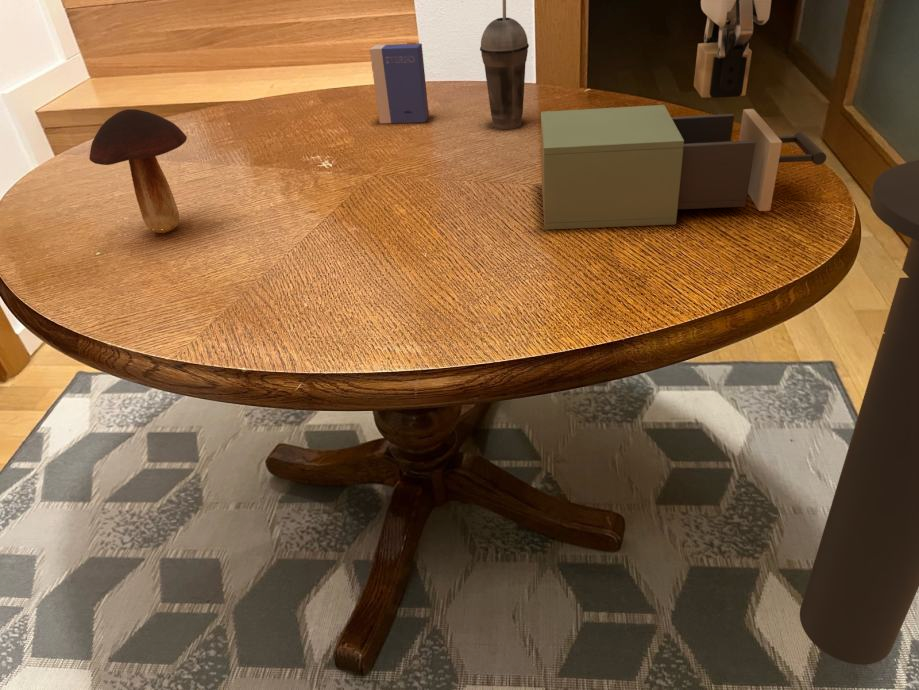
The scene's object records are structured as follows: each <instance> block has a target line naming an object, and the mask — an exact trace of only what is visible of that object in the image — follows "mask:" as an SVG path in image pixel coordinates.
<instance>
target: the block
mask: <svg viewBox="0 0 919 690" xmlns="http://www.w3.org/2000/svg"><path fill="white" fill-rule="evenodd" d="M752 53H753V51H752V49H750V48H749V49H748V55H747V62H746V68H745V75H744V82H743V89H742V94H741V95H740V96H739V97H741V96H746V93H747V89H748V88H747V86H748V80H749V73H750V68H751V61H752ZM714 57H718V42H716V43H704V42H700V43H697V51H696V60H695V68H694V78H693V79H694V80H693V87H694V89H695V90H696V92H697V93H698V94H699V96H700V98H703V99H704V98H712V97H711V96H710V85H711V77H712V68H713V60H714Z"/></svg>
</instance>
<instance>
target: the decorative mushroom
mask: <svg viewBox="0 0 919 690" xmlns="http://www.w3.org/2000/svg"><path fill="white" fill-rule="evenodd" d="M187 139H188V137H187V135H186V133H184V131H182V129H181V128H179V126H178V125H176V124H175V123H174V122H172V121H171V120H168V119H167V118H164V117H162V116H161V115H158V114H156V113H153V112H150V111H145V110H142V109H134V108H132V109H129V108H128V109H127V108H126V109H122V110H120V111H118V112H116V113H115V114H113V115H112V116H111V117H109V118H108V119H107V120H105V121H104V123H103V124H102V125H101V126H100V127H99V129H98V131H97V132H96V134H95V136H94V137H93V140H92V142H91V145H90V149H89V157H88V158H89V161H90V162H92V163H94V164H97V165H101V166H112V165H115V164H119V163H123V162H128V164H129V168H130V169H129V170H130V174H131V175H130V176H131V179H132V184H133V189H134V194H135V198H136V201H137V205H138V208H139V211H140V214H141V218H142V220H143V222H144V224H145V226H146V227H147V228H148V230H149V231H152V232H153V233H157V234H166V233H169V232H171V231H173V230H174V229H175V228H176V227H177V226H178V225H179V223H180V214H179V213H180V212H179V209H178V206H177V202H176V200H175V197H174V195H173V192H172V189H171V186H170V184H169V181H168V179H167V177H166V175H165V173H164V172H163V169H162V168H161V166H160V162H159V161H158V158H157V157H158V156H161V155H164V154H167V153H169V152H173V151H174V150H176V149H178V148H179V147H181V146H182V145H184V144H185V143H186V141H187ZM151 229H154V230H151ZM161 229H163V230H161Z"/></svg>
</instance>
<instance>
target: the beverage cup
mask: <svg viewBox="0 0 919 690" xmlns="http://www.w3.org/2000/svg"><path fill="white" fill-rule="evenodd" d="M528 42H529V41H528V36H527V33H526V31H525V28H524V27H523V26H522V25H521V24H520V22H519V21H517V20H516V19H514V18H512V17H507V0H502V17H498V18H496V19H494V20H492V21H491V22H490V23H489V24H488V25H487V26H486V28H485V29H484V30H483V33H482V36H481V39H480V47H479V51H480V52H481V59H482V63H483V66H484V71H485V72H484V73H485V79H486V87H487V94H488V102H489V109H490V116H491V120H492V121H491V122H492V127H494V129H499V130H512V129H516V128H519V127H521V126H522V123H523V121H522V120H523V114H524V99H525V82H526V81H525V79H526V64H527V63H526V62H527V58H528V53H529V47H530V44H529V43H528Z"/></svg>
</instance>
